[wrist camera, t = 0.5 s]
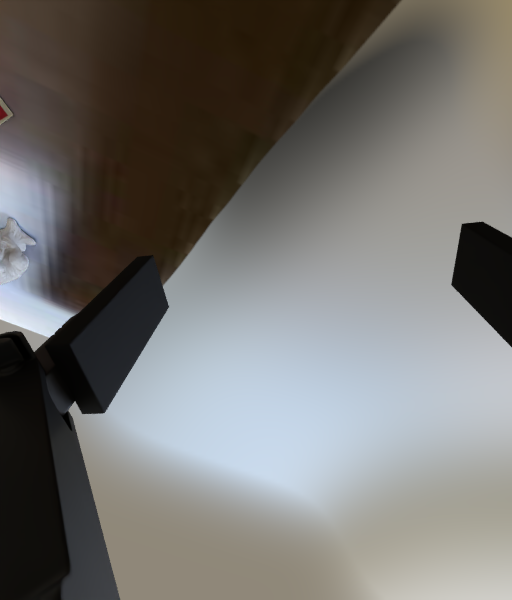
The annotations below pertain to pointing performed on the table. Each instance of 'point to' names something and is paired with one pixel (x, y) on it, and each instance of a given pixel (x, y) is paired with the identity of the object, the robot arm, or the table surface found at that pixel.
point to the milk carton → (4, 112)
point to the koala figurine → (13, 252)
